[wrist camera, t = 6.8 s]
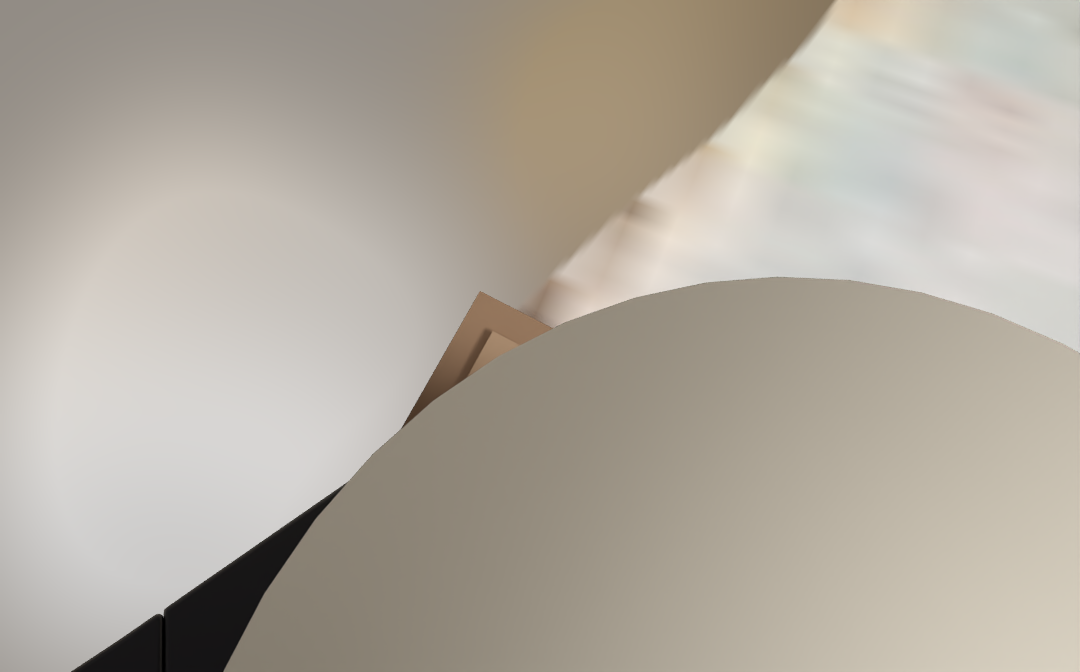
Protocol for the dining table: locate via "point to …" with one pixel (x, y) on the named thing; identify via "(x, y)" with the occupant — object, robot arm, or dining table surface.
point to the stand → (478, 345)
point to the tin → (712, 500)
